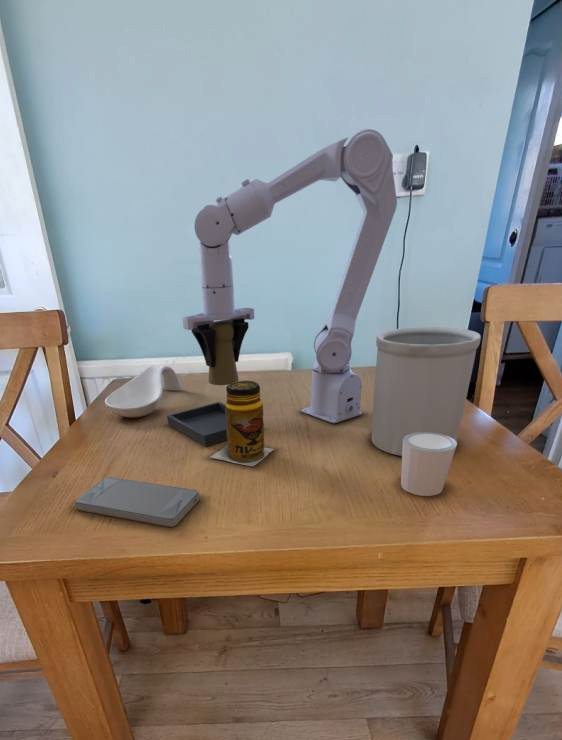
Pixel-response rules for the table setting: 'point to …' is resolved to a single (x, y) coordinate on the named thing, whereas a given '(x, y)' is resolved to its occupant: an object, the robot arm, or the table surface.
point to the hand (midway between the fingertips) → (222, 363)
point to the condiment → (244, 425)
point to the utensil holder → (421, 383)
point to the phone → (138, 501)
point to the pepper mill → (223, 356)
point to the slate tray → (202, 423)
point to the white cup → (426, 462)
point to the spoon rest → (142, 392)
